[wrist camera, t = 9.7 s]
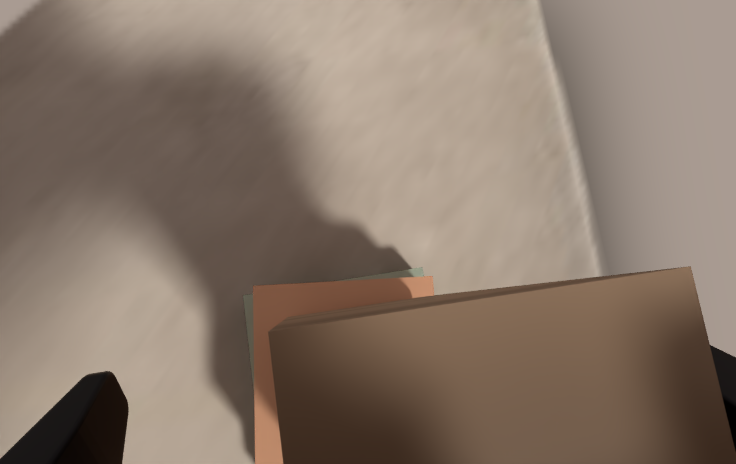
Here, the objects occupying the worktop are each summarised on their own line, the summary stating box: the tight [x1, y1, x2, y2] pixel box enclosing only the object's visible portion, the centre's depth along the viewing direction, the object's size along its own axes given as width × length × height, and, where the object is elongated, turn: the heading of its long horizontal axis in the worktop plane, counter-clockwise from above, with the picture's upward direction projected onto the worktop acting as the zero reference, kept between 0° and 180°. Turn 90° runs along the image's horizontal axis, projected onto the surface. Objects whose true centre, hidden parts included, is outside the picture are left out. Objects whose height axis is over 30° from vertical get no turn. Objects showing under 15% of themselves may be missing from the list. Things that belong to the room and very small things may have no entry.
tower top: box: [253, 276, 434, 464], centre depth 19 cm, size 7×7×2 cm
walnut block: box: [268, 267, 736, 464], centre depth 11 cm, size 5×5×13 cm
